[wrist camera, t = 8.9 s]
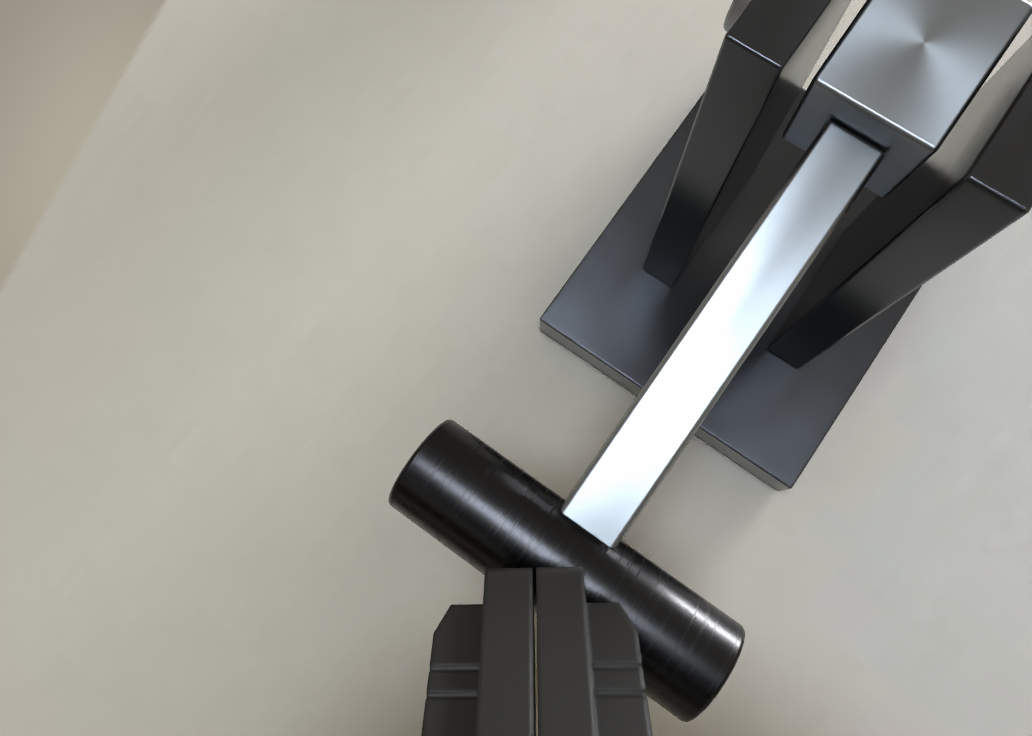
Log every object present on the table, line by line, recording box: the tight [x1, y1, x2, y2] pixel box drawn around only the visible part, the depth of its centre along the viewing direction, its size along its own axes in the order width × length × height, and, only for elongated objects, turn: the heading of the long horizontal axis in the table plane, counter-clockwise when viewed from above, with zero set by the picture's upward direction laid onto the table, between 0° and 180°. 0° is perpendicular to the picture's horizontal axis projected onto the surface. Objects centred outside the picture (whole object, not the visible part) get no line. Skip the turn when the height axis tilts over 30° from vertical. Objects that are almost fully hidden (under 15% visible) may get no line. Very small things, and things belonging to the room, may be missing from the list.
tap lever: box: [389, 0, 1032, 722], centre depth 14 cm, size 12×6×2 cm, turn 145°
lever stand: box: [540, 0, 1032, 491], centre depth 18 cm, size 10×8×12 cm
